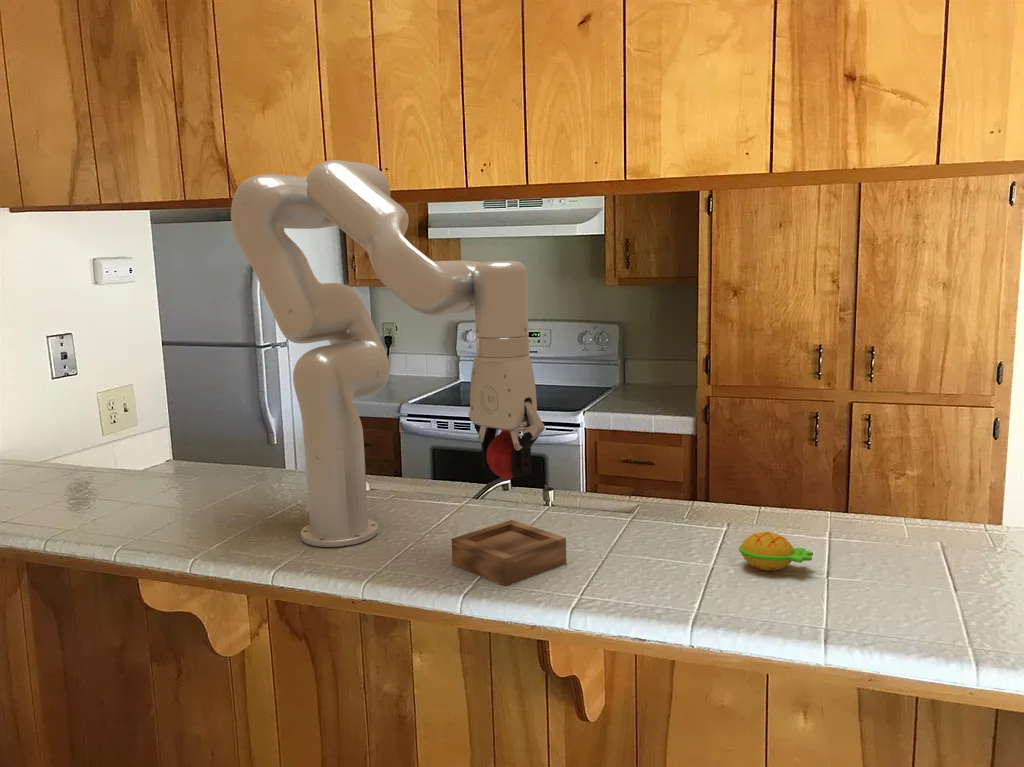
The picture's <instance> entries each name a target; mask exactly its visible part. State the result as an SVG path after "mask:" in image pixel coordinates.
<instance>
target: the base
mask: <svg viewBox="0 0 1024 767" xmlns="http://www.w3.org/2000/svg"><path fill="white" fill-rule="evenodd" d="M450 542H451V559H452V561H451V562H452V565H453V566H456V567H458V568H460V569H463V570H465V571H468V572H469V573H472V574H475V575H478V576H480V577H482V578H484V579H486V580H489V581H492V582H494V583H496V582H497V584H498V583H499V585H501V586H503V585H504V586H503V587H508V586H511V585H513V584H512V583H514V584H517V583H519V582H521V580H522V581H523V579H524V580H527V579H529V578H532V577H535V576H537V575H539V574H542V573H545V572H547V571H550V570H552V569H556V568H559V567H561V566H564V565H567V537H565V536H563V535H562V536H561V535H559V534H555V533H552V532H549V531H547V530H544V529H540V528H537V527H534V526H532V525H529V524H525V523H523V522H520V521H516V520H513V519H510V520H507V521H504V522H501V523H496V524H493V525H490V526H486V527H483V528H481V529H477V530H475V531H471V532H467V533H465V534H461V535H458V536H455V537H452V538H451V541H450ZM534 575H535V576H534ZM518 581H519V582H518ZM507 585H508V586H507Z"/></svg>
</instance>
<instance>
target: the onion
mask: <svg viewBox="0 0 1024 767" xmlns="http://www.w3.org/2000/svg"><path fill="white" fill-rule="evenodd" d="M513 449H515V447H514V444H513V440H512V436H511V433H510V431H504V430H500V433H498V436H496V437H495V438H494V439H493V440H492V441H491V443H490V444H489V446H488V449H487V455H486V458H487V463H488V465H489V467H490V471H491V472H493V473H494V474H495V475H496V476H498V477H499V478H501V479H502V480H503V481H507V482H508V481H510V480H512V479H513V478H514V477H513V475H512V453H511V452H512V450H513Z"/></svg>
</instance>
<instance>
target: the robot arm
mask: <svg viewBox="0 0 1024 767" xmlns="http://www.w3.org/2000/svg"><path fill="white" fill-rule="evenodd" d="M230 220H231V227H232V230H233V234H234V236H235V239H236V242H237V244H238V246H239V247H240V249H241V251H242V253H243V254H244V256H245V258H246V259H247V261H248V262H249V264H250V266H251V268H252V270H253V272H254V274H255V276H256V278H257V280H258V282H259V286H260V288H261V290H262V292H263V294H264V297H265V299H266V301H267V304H268V306H269V308H270V310H271V312H272V315H273V317H274V319H275V321H276V324H277V326H278V328H279V330H280V332H281V333H282V335H283V337H285V338H286V340H288V341H289V342H291V343H294V344H299V345H301V344H311V343H312V344H313V343H319V342H326V341H328V343H329V344H328V345H322V346H321V345H320V346H318V347H315V348H312V349H310V350H308V351H306V352H304V354H302V355H301V356H300V357H299V358H298V360H297V361H296V363H295V365H294V368H293V372H292V381H293V382H292V383H293V388H294V391H295V395H296V399H297V402H298V406H299V410H300V415H301V423H302V433H303V445H304V446H303V447H304V458H305V473H306V474H305V475H306V488H307V501H308V502H307V503H308V505H307V506H306V507H304V512H305V513H306V514H307V515H308V518H309V524H307V525H305V526H304V527H303V528H302V529H301V530H300V538H301V541H302V542H304V543H305V544H307V545H309V546H313V547H322V548H335V547H336V548H337V547H345V546H346V547H347V546H353V545H357V544H361V543H363V542H366V541H369V540H370V539H372V538H374V537H375V536H376V535H377V534H378V533H379V525H378V523H377V522H376V521H375V520H374V519H372V518H369V514H368V513H369V512H368V510H369V509H368V494H367V477H366V476H367V475H366V460H365V457H366V456H365V445H364V444H365V441H364V430H363V425H362V421H361V418H360V416H359V414H358V412H357V410H356V408H355V405H354V403H353V400H357V399H360V398H364V397H368V396H371V395H375V394H377V393H378V392H379V391H381V390H382V389H383V388H384V387H385V386H386V384H387V383H388V380H389V378H390V374H391V372H390V371H391V370H390V369H391V368H390V361H389V357H388V354H387V352H386V348H385V347H384V344H383V342H382V340H381V338H380V336H379V333H378V331H377V328H376V327H375V324H374V322H373V320H372V318H371V315H370V313H369V312H368V308H367V307H366V305H365V303H364V302H363V300H362V298H361V297H360V295H359V294H358V293H357V292H356V291H355V290H354V289H352V288H351V287H350V286H348V285H346V284H342V283H339V282H327V283H326V282H325V283H322V282H320V281H319V280H318V279H317V277H316V276H315V274H314V272H313V270H312V268H311V266H310V263H309V261H308V259H307V257H306V255H305V253H304V252H303V250H302V249H301V248H300V246H298V245H297V243H296V242H295V241H294V240H293V239H292V238H290V237H289V236H288V235H287V233H286V232H285V229H295V230H296V229H298V230H299V229H300V230H301V229H303V230H306V229H307V230H311V229H313V230H315V229H325V228H328V227H330V228H331V227H335V226H336V227H338V228H339V229H340V230H342V231H343V233H345V234H346V235H347V236H349V237H350V238H351V239H352V240H353V241H354V242H356V243H357V244H358V245H359V246H361V247H362V248H363V249H364V250H365V251H366V252H367V253H368V254H367V255H368V258H369V262H370V263H371V264H370V265H371V267H372V269H373V270H374V273H375V275H376V277H377V278H378V280H380V282H381V284H383V285H384V286H385V288H387V289H388V290H389V291H391V293H393V294H394V295H395V296H396V297H397V298H398V299H399V300H401V301H402V302H403V303H404V304H406V305H407V306H408V307H410V308H412V309H413V310H415V311H416V312H418V313H421V314H423V315H427V316H432V317H433V316H441V315H449V314H455V313H456V314H457V313H463V312H469V311H470V312H471V311H474V320H475V321H474V322H475V323H474V324H475V326H474V327H475V346H476V347H475V348H476V350H475V351H476V356H474V357H473V361H472V362H473V363H472V368H471V373H470V374H471V375H470V388H469V390H470V391H469V395H470V396H469V404H470V405H469V412H468V418H469V419H470V421H471V422H472V424H473V426H474V429H475V431H476V432H477V434H478V441H479V442H480V443H481V467H482V469H484V470H489V469H490V467H489V465H488V463H487V458H486V455H487V449H488V446H489V444H490V443H491V441H492V440H493V439H494V438H495V437H496V436H498V435H499V431H502V430H504V431H510V433H511V436H512V440H513V444H514V447H515V449H513V450H512V452H511V453H512V475H513V478H520V477H524V476H527V475H530V474H531V473H532V454H531V452H532V449H531V448H533V447H534V446H535V442H536V441H537V439H538V438H539V436H540V435H541V434H542V433H543V431H544V430H545V429H546V426H545V424H544V422H543V421H542V419H541V418H540V416H539V414H538V404H537V402H538V401H537V389H536V380H535V373H534V369H533V364H532V359H531V358H530V343H529V342H530V341H529V340H530V339H529V338H530V337H529V305H528V304H529V300H528V296H529V295H528V273H527V272H528V271H527V269H526V268H527V267H526V266H525V265H524V263H522V262H520V261H517V260H497V261H493V260H492V261H483V262H481V261H474V260H461V259H459V260H437V261H434V260H433V259H431V258H429V257H428V256H427V255H425V254H424V253H423V252H422V251H420V250H419V249H418V248H417V247H416V246H414V245H413V244H412V243H411V242H410V241H409V240H408V239H407V238H406V237H405V235H406V233H407V230H408V227H409V224H410V223H409V222H410V220H409V214H408V212H407V211H406V209H405V208H404V207H403V206H402V205H401V204H399V203H398V202H396V200H394V199H393V198H392V197H391V187H390V183H389V180H388V179H387V177H386V175H385V174H384V173H383V172H382V170H380V169H379V168H377V167H376V166H374V165H371V164H369V163H365V162H364V163H363V162H356V161H347V160H339V159H336V160H335V159H331V160H330V159H329V160H325V161H323V162H320V163H318V164H316V165H315V166H313V167H312V169H311V170H310V171H309V172H308V174H307V176H298V175H288V174H279V173H278V174H277V173H276V174H275V173H264V174H258V175H254V176H251V177H249V178H246V179H244V180H243V181H242V182H241V183H240V184H239V186H237V188H236V190H235V193H234V195H233V198H232V201H231V208H230ZM520 432H522V436H521V435H520ZM490 470H491V469H490Z"/></svg>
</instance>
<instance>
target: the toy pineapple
mask: <svg viewBox="0 0 1024 767" xmlns="http://www.w3.org/2000/svg"><path fill="white" fill-rule="evenodd" d="M738 551H739V553H740V554H741V556H742V557H743V559H744V560H745V561H746V562H747V563H748V564H749V565H750V566H752V567H753V568H756V569H758V570H762V571H766V572H768V571H769V572H770V571H779V570H782V569H783V568H785V567H787V566H788V565H790V564H791V563H792V562H794V563H803V561H804V562H807V561H809V562H810V561H812V560H813V556H814V552H813V551H810V550H806V548H805V547H794V546H793V545H792V543H791V542H790V541H789V540H787V538H786V537H784V536H783V535H780V534H778V533H776V532H772V531H759V532H757V533H756V532H755V533H753V534H751V535H749V536H748V537H746V538H745V539H744V540H743V541H742V543H741V545H739V548H738Z"/></svg>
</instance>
